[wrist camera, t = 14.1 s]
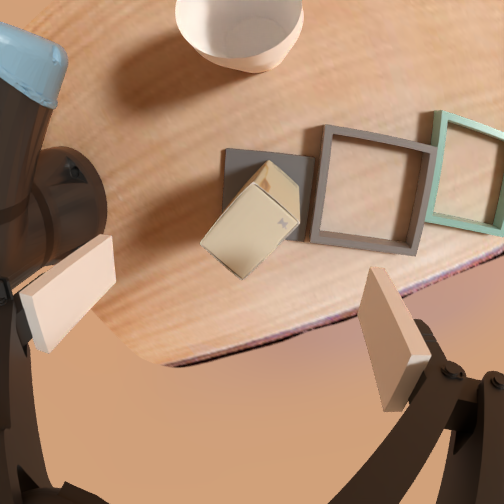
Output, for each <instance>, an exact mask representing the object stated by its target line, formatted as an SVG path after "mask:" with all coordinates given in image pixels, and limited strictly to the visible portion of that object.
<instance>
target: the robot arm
mask: <svg viewBox="0 0 504 504" xmlns="http://www.w3.org/2000/svg"><path fill="white" fill-rule="evenodd" d="M67 67H68V56H67V53H66V51H65V50H64V48H63V47H62V46H60V45H59V44H57V43H55V42H52V41H50V40H48V39H45V38H43V37H41V36H38V35H36V34H33V33H30V32H28V31H25V30H23V29H20V28H17V27H15V26H12V25H8V24H6V23H3V22H0V504H109V503H107V502H106V501H104V500H103V499H101V498H100V497H98V496H97V495H95V494H92V493H90V492H88V491H85V490H83V489H81V488H78V487H76V486H74V485H72V484H70V483H68V482H66V481H65V482H64V484H63V486H62V488H54V487H53V486H52V485H51V483H50V481H49V478H48V475H47V472H46V467H45V463H44V458H43V454H42V449H41V444H40V438H39V433H38V426H37V420H36V413H35V405H34V396H33V386H32V375H31V358H30V348H29V345H28V342H29V341H30V340H31V339H32V338H33V340H34V344H35V346H36V349H38V350H40V351H43V352H46V353H48V354H49V353H50V352H51V351H52V350H53V349H54V348H55V347H56V346H57V344H58V343H59V342H60V341H61V340H62V339H63V338H64V337H65V336H66V334H67V333H68V332H69V331H70V330H71V329H72V328H73V327H74V326H75V325H76V324H77V323H78V321H79V320H80V319H81V318H82V317H83V316H84V315H85V314H86V313H87V312H88V311H89V310H90V309H91V308H92V307H93V306H94V304H95V303H96V302H97V301H98V300H99V299H100V298H101V297H102V296H103V295H104V294H105V293H106V292H107V291H108V290H109V289H110V288H111V287H112V286H113V285H114V284H115V283H116V275H115V265H114V255H113V243H112V235H103V232H104V229H105V225H106V219H107V201H106V195H105V191H104V187H103V184H102V181H101V179H100V177H99V175H98V173H97V171H96V169H95V168H94V166H93V165H92V164H91V162H90V161H89V160H88V159H87V158H86V157H85V156H84V155H82V154H81V153H80V152H78V151H76V150H74V149H72V148H69V147H63V146H59V147H53V148H48V149H44V150H41V147H42V143H43V140H44V136H45V133H46V130H47V127H48V124H49V121H50V118H51V115H52V112H53V109H55V108H56V107H57V104H58V101H57V98H58V94H59V91H60V88H61V85H62V82H63V79H64V76H65V73H66V71H67ZM40 150H41V151H40ZM55 264H56V265H55ZM49 265H55V266H53V267H52V268H51V269H49V270H48V271H47V272H45V273H43V274H41V275H39V276H38V277H37V278H35V280H33V281H31V282H30V283H29V284H28V285H26V286H25V287H23V288H22V289H21V290H20V291H18V292H17V293H16V294H14V295H13V294H12V289H13V288H15V287H16V286H18V285H19V284H20V283H21V282H23V281H24V280H26V279H27V278H28V277H30V276H31V275H32V274H34V273H35V272H36V271H38V270H39V269H40V268H42V267H44V266H49ZM357 315H358V318H359V321H360V325H361V328H362V332H363V335H364V338H365V342H366V345H367V349H368V353H369V356H370V360H371V363H372V367H373V371H374V375H375V379H376V383H377V387H378V390H379V395H380V399H381V403H382V407H383V411H384V412H398V411H399V412H400V411H402V410H403V409H404V407H405V405H406V404H407V402H408V401H409V404H410V405H409V407H408V408H407V410H406V411H405V412H404V414H403V415H402V417H401V418H400V419H399V421H398V422H397V424H396V425H395V426H394V428H393V429H392V430H391V432H390V433H389V434H388V436H387V437H386V438H385V439H384V441H383V442H382V443H381V445H380V446H379V447H378V448H377V450H376V451H375V452H374V453H373V454H372V456H371V457H370V458H369V459H368V461H367V462H366V463H365V464H364V465H363V466H362V468H361V469H360V470H359V471H358V472H357V473H356V474H355V475H354V477H353V478H352V479H351V480H350V481H349V482H348V483H347V484H346V485H345V486H344V487H343V488H342V490H341V491H340V492H339V493H338V494H337V495H336V496H335V497H334V498H333V499H332V500H331V501H330V502H329V503H328V504H399V502H400V501H401V499H402V498H403V497H404V495H405V494H406V492H407V490H408V489H409V488H410V486H411V485H412V483H413V482H414V480H415V479H416V477H417V475H418V474H419V472H420V470H421V469H422V467H423V465H424V464H425V462H426V460H427V459H428V457H429V455H430V453H431V452H432V450H433V448H434V446H435V444H436V443H437V441H438V439H439V437H440V435H441V433H442V431H443V429H449V430H452V431H451V437H450V443H449V449H448V454H447V459H446V464H445V469H444V473H443V478H442V482H441V486H440V490H439V494H438V498H437V501H436V504H504V375H503V374H502V373H499V372H497V371H489V372H487V373H486V374H485V375H484V377H483V379H482V380H476V379H472V378H467V377H466V373H465V371H464V370H463V369H462V367H461V366H459V365H458V364H456V363H454V362H451V361H447V359H446V357H445V355H444V353H443V352H442V350H441V348H440V346H439V344H438V343H437V342H436V339H435V337H434V336H433V333H432V332H431V330H430V328H429V327H428V326H427V325H426V324H425V323H424V322H423V321H422V320H419V319H413V318H412V316H411V314H410V313H409V311H408V309H407V307H406V305H405V303H404V302H403V300H402V298H401V296H400V294H399V293H398V291H397V289H396V287H395V285H394V284H393V282H392V280H391V279H390V277H389V275H388V273H387V272H386V270H385V268H379V267H370V269H369V273H368V277H367V281H366V285H365V289H364V292H363V296H362V300H361V303H360V307H359V311H358V314H357Z"/></svg>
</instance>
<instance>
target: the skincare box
mask: <svg viewBox="0 0 504 504" xmlns="http://www.w3.org/2000/svg"><path fill="white" fill-rule="evenodd" d="M299 224H300V203H299V186H298V185H297V184H296V183H295V182H294V181H293V180H292V179H291V178H290V177H289V176H288V175H287V174H286V173H284V172H283V171H282V170H281V169H280V168H279V167H278V166H276V165H275V164H274V163H273V162H271V161H270V160H267V161H266V162H265V163H264V164H263V165H262V166H261V167H260V169H259V170H258V171H257V172H256V173H255V174H254V175H253V176H252V177H251V178H250V179H249V180H248V182H247V183H246V184H245V185H244V186H243V187H242V189H241V190H240V191H239V192H238V194H237V195H236V196H235V197H234V199H233V200H232V201H231V202H230V203H229V205H228V206H227V207H226V209H225V210H224V211H223V213H222V214H221V215H220V217H219V218H218V219H217V221H216V222H215V223H214V224H213V226H212V227H211V228H210V230H209V231H208V232H207V234H206V235H205V236H204V238H203V239H202V240H201V242H200V245H201V246H202V247H203V248H204V249H206V250H207V251H208V252H209V253H210V254H211V255H212V256H213V257H214V258H215V259H217V260H218V261H219V262H220V263H221V264H222V265H223V266H225V267H226V268H227V269H228V270H229V271H230V272H232V273H233V274H234V275H235V276H236V277H238V278H239V279H240V280H245V279H246V278H247V277H248V276H249V275H250V274H251V273H252V272H253V271H254V270H255V269H256V268H257V267H258V266H259V265H260V264H261V263H262V262H263V261H264V260H265V259H266V258H267V257H268V256H269V255H270V254H271V253H272V252H273V251H274V250H275V249H276V248H277V247H278V246H279V245H280V244H281V243H282V242H283V241H284V240H285V239H286V238H287V236H288V235H289V234H290V233H291V232H292V231H293V230H294V229H295V228H296V227H297V226H298V225H299Z"/></svg>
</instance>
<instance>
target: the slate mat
mask: <svg viewBox="0 0 504 504" xmlns="http://www.w3.org/2000/svg"><path fill="white" fill-rule="evenodd" d="M267 160H270V161H271V162H273V163H274V164H275V165H276V166H278V167H279V168H280V169H281V170H282V171H283V172H284V173H286V174H287V175H288V176H289V177H290V178H291V179H292V180H293V181H294V182H295V183H296V184H297V185H298V186H299V203H300V224H299V225H298V226H297V227H296V228H295V229H294V230H293V231H292V232H291V233H290V234H289V235H288V236H287V238H286V239H285V240H293V241H302V242H304V239H305V232H306V225H307V218H308V210H309V203H310V196H311V188H312V180H313V172H314V164H315V157H308V156H300V155H292V154H284V153H274V152H265V151H254V150H243V149H230V148H227V149H226V158H225V173H224V188H223V204H222V213H223V211H224V210H225V209H226V207H227V206H228V205H229V203H230V202H231V201H232V200H233V199H234V197H235V196H236V195H237V194H238V192H239V191H240V190H241V189H242V187H243V186H244V185H245V184H246V183H247V182H248V180H249V179H250V178H251V177H252V176H253V175H254V174H255V173H256V172H257V171H258V170H259V169H260V167H261V166H262V165H263V164H264V163H265V162H266V161H267Z"/></svg>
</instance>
